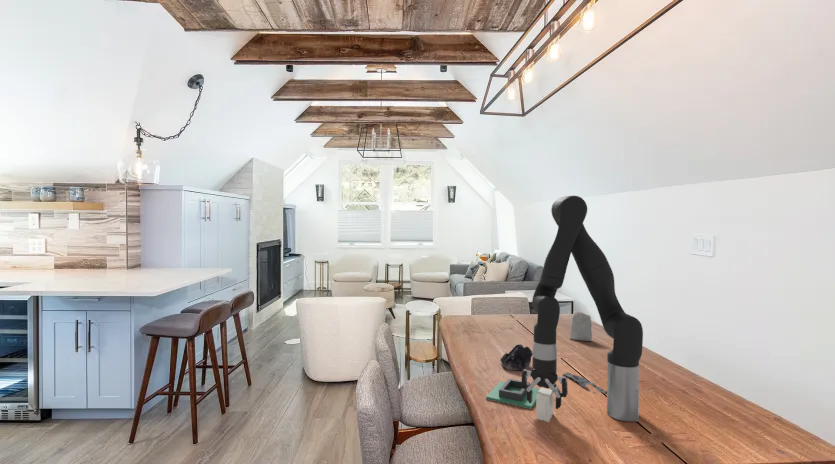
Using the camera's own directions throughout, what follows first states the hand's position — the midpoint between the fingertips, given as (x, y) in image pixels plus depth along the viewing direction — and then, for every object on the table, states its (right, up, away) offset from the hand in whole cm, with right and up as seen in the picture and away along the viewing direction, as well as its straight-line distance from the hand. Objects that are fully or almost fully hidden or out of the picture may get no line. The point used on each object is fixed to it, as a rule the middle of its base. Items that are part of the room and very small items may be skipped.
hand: (543, 405), depth 133 cm
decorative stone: (+47, -2, +87) cm, 98 cm away
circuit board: (-6, -3, +16) cm, 17 cm away
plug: (0, -4, 0) cm, 4 cm away
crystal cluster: (+2, -3, +47) cm, 47 cm away
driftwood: (+24, -4, +27) cm, 37 cm away
